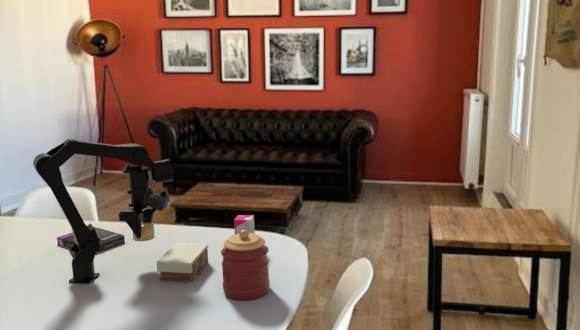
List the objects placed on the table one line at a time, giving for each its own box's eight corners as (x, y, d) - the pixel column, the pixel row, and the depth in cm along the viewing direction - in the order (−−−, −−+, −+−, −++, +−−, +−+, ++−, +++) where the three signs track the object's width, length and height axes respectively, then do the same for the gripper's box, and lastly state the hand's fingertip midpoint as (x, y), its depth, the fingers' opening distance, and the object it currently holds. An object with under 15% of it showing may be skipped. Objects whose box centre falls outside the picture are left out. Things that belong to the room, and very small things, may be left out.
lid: (191, 273, 157) (190, 263, 156) (157, 271, 159) (156, 261, 158) (208, 253, 172) (208, 244, 171) (177, 252, 173) (176, 243, 173)
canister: (245, 277, 161) (243, 219, 157) (279, 288, 153) (277, 228, 149) (213, 292, 151) (209, 231, 147) (247, 305, 143) (244, 241, 139)
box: (57, 246, 193) (91, 256, 182) (56, 237, 192) (90, 246, 181) (92, 234, 204) (125, 243, 193) (90, 225, 203) (124, 233, 192)
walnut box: (193, 281, 159) (191, 265, 158) (160, 279, 160) (159, 263, 159) (208, 262, 172) (207, 247, 171) (178, 261, 174) (176, 246, 173)
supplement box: (255, 247, 185) (254, 214, 182) (252, 253, 179) (251, 220, 176) (238, 246, 185) (237, 214, 183) (235, 253, 179) (233, 220, 177)
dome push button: (158, 237, 170) (157, 224, 169) (140, 242, 165) (139, 229, 164) (147, 232, 174) (146, 220, 173) (129, 238, 170) (128, 225, 169)
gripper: (151, 194, 156) (156, 246, 159) (176, 178, 174) (179, 225, 177) (115, 193, 158) (120, 244, 161) (143, 178, 176) (147, 224, 179)
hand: (143, 234), depth 169 cm, fingers closed on dome push button, 6 cm apart
